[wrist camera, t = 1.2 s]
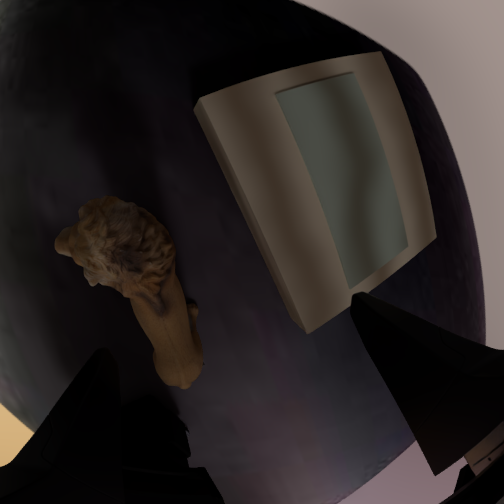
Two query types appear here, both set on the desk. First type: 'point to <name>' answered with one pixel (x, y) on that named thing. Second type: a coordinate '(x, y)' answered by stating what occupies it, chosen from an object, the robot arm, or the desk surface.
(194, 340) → the lion figurine
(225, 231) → the desk surface
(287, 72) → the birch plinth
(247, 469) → the desk surface
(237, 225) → the desk surface
